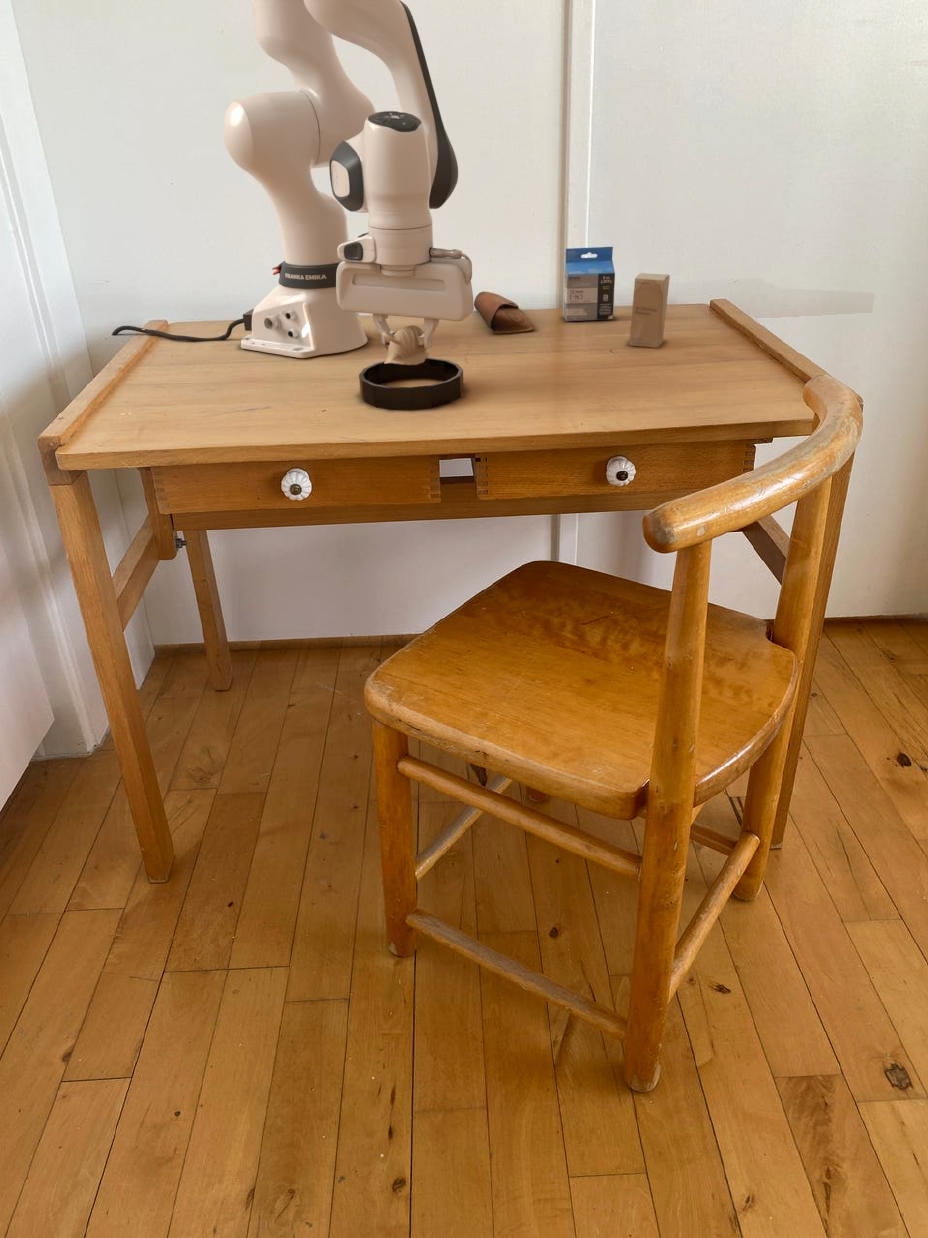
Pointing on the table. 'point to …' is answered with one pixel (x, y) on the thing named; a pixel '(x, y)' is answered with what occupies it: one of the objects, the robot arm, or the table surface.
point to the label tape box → (589, 284)
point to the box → (649, 310)
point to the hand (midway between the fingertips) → (407, 345)
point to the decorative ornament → (405, 346)
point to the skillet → (411, 395)
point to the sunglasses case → (501, 314)
